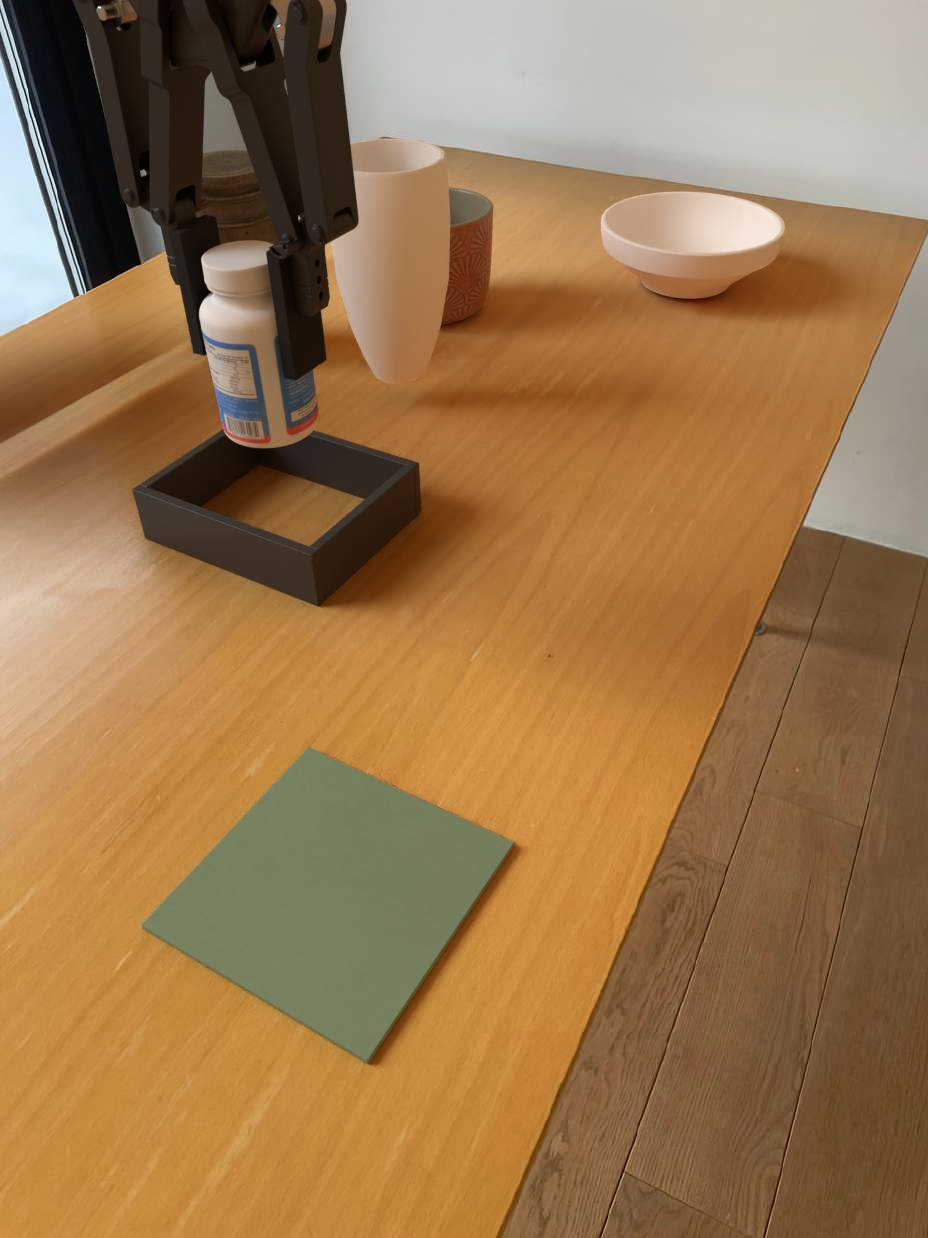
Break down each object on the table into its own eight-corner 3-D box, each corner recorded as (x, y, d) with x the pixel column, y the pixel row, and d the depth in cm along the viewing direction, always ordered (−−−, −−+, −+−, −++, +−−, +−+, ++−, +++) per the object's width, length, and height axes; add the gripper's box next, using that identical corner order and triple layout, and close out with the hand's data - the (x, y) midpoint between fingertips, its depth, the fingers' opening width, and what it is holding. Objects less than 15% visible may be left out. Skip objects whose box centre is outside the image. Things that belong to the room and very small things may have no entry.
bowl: (560, 284, 114) (563, 219, 109) (672, 240, 124) (679, 179, 119) (698, 339, 103) (708, 269, 98) (809, 286, 112) (823, 221, 108)
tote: (144, 538, 77) (131, 489, 75) (258, 457, 86) (250, 410, 83) (318, 606, 71) (311, 555, 68) (422, 511, 80) (419, 462, 77)
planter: (376, 336, 104) (368, 229, 97) (380, 288, 114) (372, 187, 107) (496, 332, 104) (496, 225, 97) (489, 285, 114) (490, 184, 107)
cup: (380, 441, 88) (360, 184, 74) (325, 394, 95) (297, 151, 81) (479, 408, 92) (477, 159, 78) (419, 365, 99) (408, 129, 85)
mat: (142, 929, 51) (140, 924, 51) (309, 751, 61) (308, 746, 60) (368, 1065, 46) (367, 1060, 46) (514, 846, 55) (514, 842, 55)
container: (285, 371, 98) (258, 178, 87) (197, 366, 99) (158, 175, 88) (310, 332, 105) (288, 148, 93) (227, 327, 106) (195, 145, 95)
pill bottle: (305, 396, 59) (284, 228, 53) (331, 439, 55) (311, 263, 49) (213, 414, 58) (179, 243, 51) (232, 459, 54) (198, 281, 48)
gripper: (424, -211, 38) (443, 364, 53) (72, -206, 45) (177, 298, 60) (304, -204, 33) (362, 428, 48) (-71, -201, 40) (83, 348, 55)
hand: (259, 355), depth 54 cm, fingers closed on pill bottle, 5 cm apart
